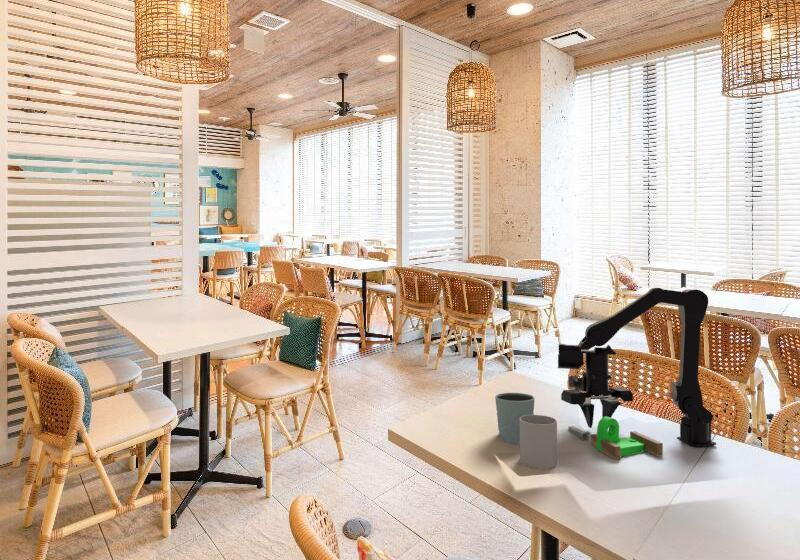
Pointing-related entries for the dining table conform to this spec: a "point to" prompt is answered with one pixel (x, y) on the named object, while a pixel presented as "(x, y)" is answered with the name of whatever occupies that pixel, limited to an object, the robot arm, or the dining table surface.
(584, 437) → the u-shaped bracket
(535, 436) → the cup
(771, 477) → the dining table surface
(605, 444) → the beam rails
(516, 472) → the dining table surface
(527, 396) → the teal tapered tumbler
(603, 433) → the mechanical part
